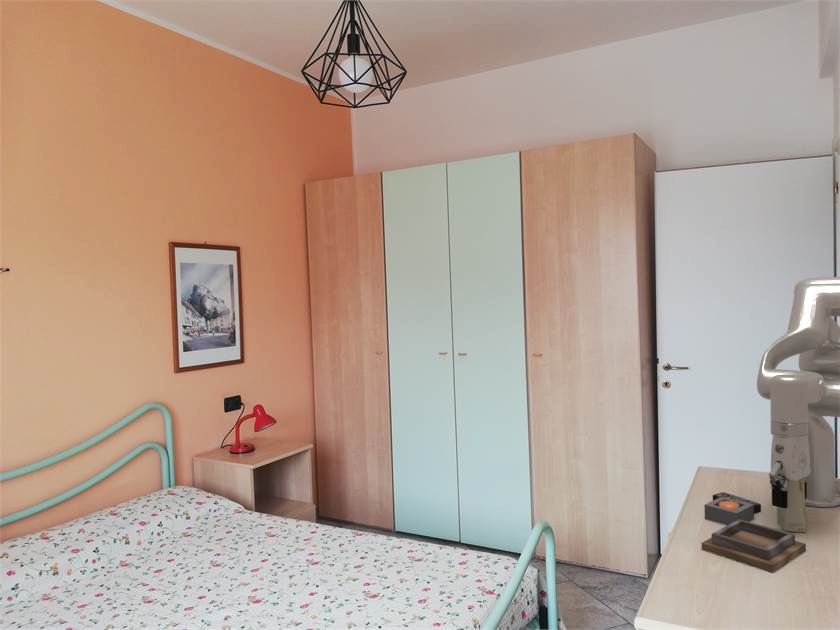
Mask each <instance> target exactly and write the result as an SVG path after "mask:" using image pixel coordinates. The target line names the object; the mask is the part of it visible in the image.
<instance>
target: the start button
mask: <svg viewBox="0 0 840 630" xmlns="http://www.w3.org/2000/svg"><path fill="white" fill-rule="evenodd" d="M719 506H720V507H724V508H728V509H731V510H736V509H738V508H739V504H738V503H735V502H732V501H721V502H719Z"/></svg>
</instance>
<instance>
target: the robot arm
mask: <svg viewBox="0 0 840 630" xmlns="http://www.w3.org/2000/svg"><path fill="white" fill-rule="evenodd" d="M793 292H794V293H793V295H794V296H793V302H792V307H791V310H790V316H789V322H788V326H787V332H786V333H784V334H783V335H782V336H781V337H779V338H778V339H776V340H775V341H774V342H773V343H772V344H771V345H770V346H769V347H768V348H767V349H766V350H765V352H764V353H763V355H762V357H761V359H760V362H759V363H760V364H759V368H758V373H757V377H756V378H757V379H756V389H757V393H758V394H759V396H760V397H761V398H763V399H766V400H769V401H770V435H772V440H771V441H772V442H771V450H770V451H771V453H770V471H769V472H768V476H769V479H770V480H769V483H770V489H771V505H772V506H773V507H776V508H777V507H780V508H785V509H786V508H787V507H788V491H786V487H787V484H788V481H789V480H790V481H791V482H795V481H798V480H800V479H802V478H803V479H804V488H805V506H809V507H816V508H817V507H818V508H819V507H820V508H832V507H833V508H834V507H837V506H840V494H839V493H837V492H836V484H838V479H837V478H836V477H835V473H836V472H835V468H836V467H835V459H836V458H835V433H834V429H833V427H832V426H831V425H830V424H829V422H828V421H827V419H825V417H831V418H832V417H833V418H840V325H839V324H838V322H836V320H835V319H834V318H833V317H840V276H831V277H830V276H827V277H826V276H824V277H823V276H822V277H819V276H818V277H810V278H805V279H802V280H800V281H798V282H797V283H796V284H795V286H794V291H793ZM797 355H798V356H799V357H798V368H799V370H793V369H777V367H778V366H779V364H781V363H782V362H784V361H785V360H787V359H788V358H791V357H794V356H797ZM782 476H785V477H782ZM780 480H781V481H783V483H782V484H781V482H780Z"/></svg>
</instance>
